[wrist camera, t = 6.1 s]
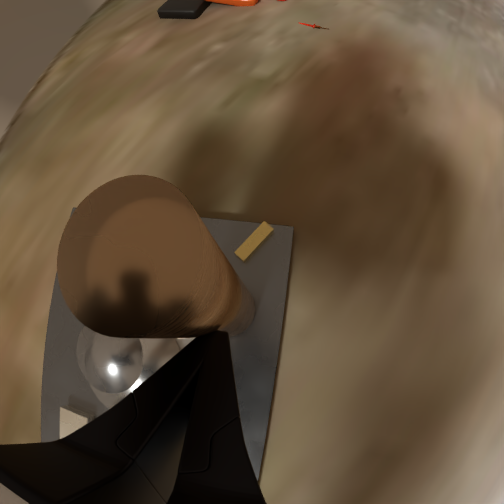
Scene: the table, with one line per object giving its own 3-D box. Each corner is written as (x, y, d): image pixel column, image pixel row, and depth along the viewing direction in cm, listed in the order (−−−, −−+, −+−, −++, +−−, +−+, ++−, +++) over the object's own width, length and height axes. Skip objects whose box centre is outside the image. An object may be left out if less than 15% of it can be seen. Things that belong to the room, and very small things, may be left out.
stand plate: (246, 538, 14) (242, 558, 12) (47, 471, 16) (28, 479, 13) (293, 230, 19) (295, 215, 16) (77, 210, 20) (58, 197, 18)
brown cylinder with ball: (282, 340, 16) (291, 355, 5) (127, 431, 15) (-27, 502, 4) (216, 242, 18) (124, 96, 6) (76, 338, 17) (-91, 318, 6)
